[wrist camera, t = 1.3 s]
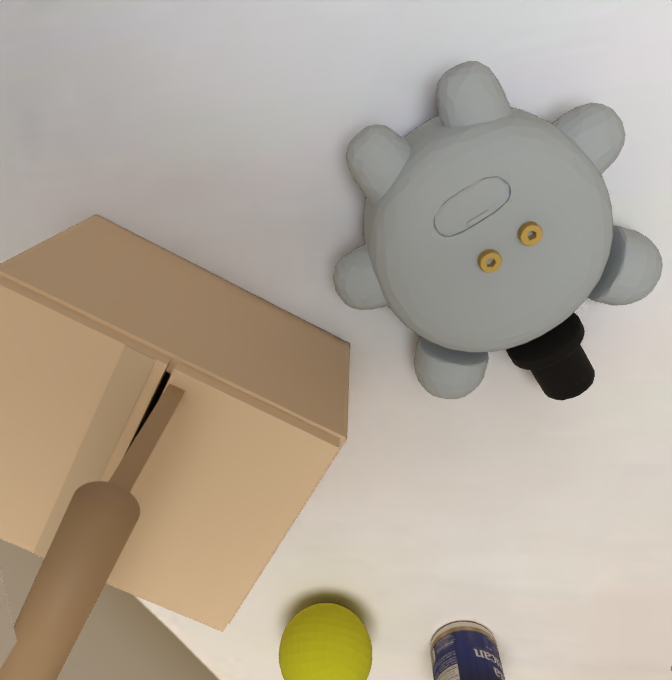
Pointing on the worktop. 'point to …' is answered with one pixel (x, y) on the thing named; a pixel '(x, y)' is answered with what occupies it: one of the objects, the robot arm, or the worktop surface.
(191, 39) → the worktop surface
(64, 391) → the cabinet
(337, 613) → the ornament
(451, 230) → the figurine
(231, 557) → the tan handled panel part
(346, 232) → the worktop surface
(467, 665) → the pill bottle
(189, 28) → the worktop surface
